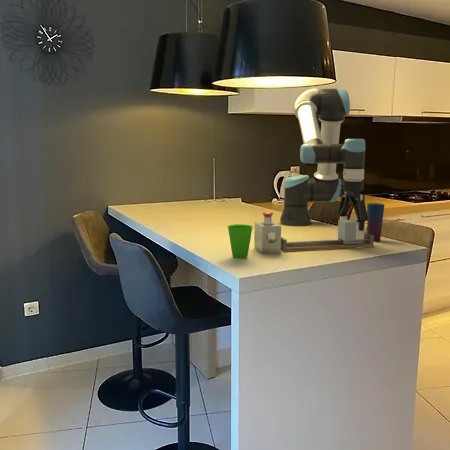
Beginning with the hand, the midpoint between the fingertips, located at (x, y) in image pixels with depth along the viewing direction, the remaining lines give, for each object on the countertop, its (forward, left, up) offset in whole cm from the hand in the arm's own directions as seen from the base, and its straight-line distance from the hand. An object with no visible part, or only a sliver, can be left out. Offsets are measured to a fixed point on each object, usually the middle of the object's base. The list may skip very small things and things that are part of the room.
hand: (350, 235), depth 191 cm
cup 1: (+8, -46, -4) cm, 47 cm away
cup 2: (-9, +15, -4) cm, 18 cm away
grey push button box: (0, -33, -4) cm, 34 cm away
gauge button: (0, -33, +2) cm, 34 cm away
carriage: (0, 0, -3) cm, 3 cm away
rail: (0, -10, -4) cm, 11 cm away
